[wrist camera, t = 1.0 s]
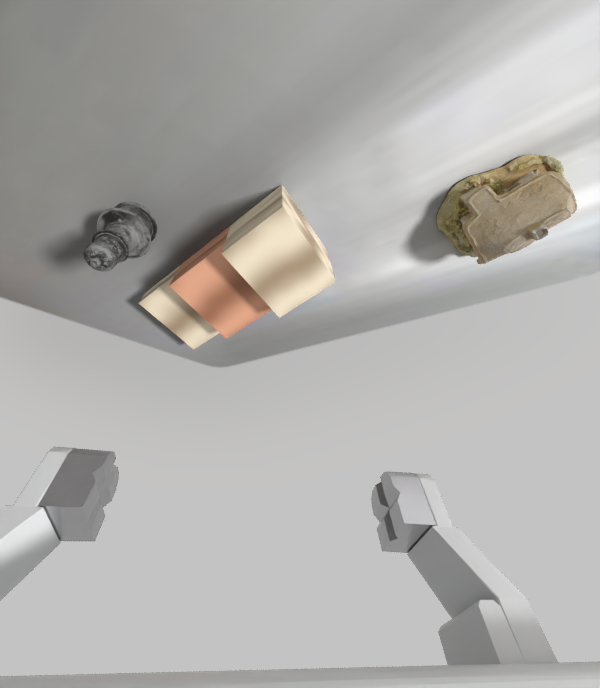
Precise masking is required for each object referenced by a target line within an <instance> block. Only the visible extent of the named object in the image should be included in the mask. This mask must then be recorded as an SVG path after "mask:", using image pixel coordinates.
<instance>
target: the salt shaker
mask: <svg viewBox="0 0 600 688" xmlns="http://www.w3.org/2000/svg"><path fill="white" fill-rule="evenodd" d="M96 226H97V233H96V234H95V235H94V237H93V240H92V243H91V244H90V245H88V246H87V247H86V249H85V251H84V258H85V260H86V262H87V263H88V265H89V266H91V267H92V268H93V269H96V270H98V271H109V270H111V269H113V268H114V267H115V265H116V264H117V263H121V262H123V261H125V260H126V259H127V258H138V257H141V256H143V255H144V254H146V252H147V251H148V250H149V248H150V245H151V242H152V240H153V239H154V238H155V236H156V233H157V226H156V222H155V220H154V218H153V216H152V215H151V213H150V212H149V211H148V210H147V209H145V208H144V207H143V206H141V205H139V204H137V203H133V202H124V203H120V204H119V205H117V206H116V207H115V208H111V209H107V210H106V211H104V212H103V213H101V215H100V216H99V218H98V220H97V224H96Z"/></svg>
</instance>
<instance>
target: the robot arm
mask: <svg viewBox="0 0 600 688" xmlns="http://www.w3.org/2000/svg"><path fill="white" fill-rule="evenodd" d="M115 459H116V457H115V453H114V452H113V451H101V450H88V449H76V448H65V447H53V448H52V449H51V450H50V451H49V452H47V454H46V455H45V457H44V458H43V460H42V462H41V463H40V465H39V466H38V468H37V469H36V471H35V472H34V474H33V476H32V477H31V478H30V480H29V482H28V483H27V485H26V486H25V488H24V489H23V491H22V492H21V494H20V495H19V497H18V499H17V500H16V501H15V503H14V504H13V505H6V506H5V507H3V508H2V509H0V601H1V600H2V599H3V598H4V597H5V596H6V595H7V594H8V593H9V592H10V591H11V590H12V589H13V588H14V587H15V586H16V585H17V584H18V583H19V582H20V581H21V580H23V578H25V576H27V575H28V574H29V573H30V572H31V571H32V570H33V569H34V568H35V567H36V566H37V565H38V564H39V563H40V562H41V561H42V560H43V559H44V558H45V557H46V556H48V555H49V554H50V553H51V552H52V551H53V550H54V549H55V548H56V547H57V546H58V545H59V544H60V541H95V539H96V537H97V535H98V532H99V530H100V527H101V525H102V523H103V520H104V518H105V514H104V510H103V507H104V506H106V505H107V504H108V503H109V502H110V501H112V498H113V496H114V493H115V491H116V487H117V483H118V475H119V472H118V467H116V466H115V465H114V462H115ZM380 478H381V482H380V483H379V484H377V485H375V487H374V489H373V491H372V508H373V513H374V515H375V516H376V517H377V519H378V520H379V521H380V523H379V525H378V528H377V531H378V535H379V540H380V544H381V548H382V551H387V552H404V553H408V554H407V555H408V556H409V558H410V559H411V560H412V562H413V563H414V565H415V566H416V568H417V569H418V571H419V572H420V573H421V575H422V576H423V577H424V579H425V581H426V582H427V583H428V585H429V586H430V588H431V589H432V591H433V592H434V593H435V595H436V596H437V598H438V599H439V600H440V602H441V603H442V605H443V606H444V608H445V609H446V611H447V612H448V613H449V615H450V616H451V617H452V619H451V620H450V621H448V622H447V623H445V624H444V625H442V626H441V627H440V629H439V636H440V639H441V643H442V646H443V650H444V653H445V656H446V660H447V664H448V665H445V666H444V665H442V666H405V667H404V666H403V667H364V668H362V667H361V668H324V669H323V668H321V669H281V670H240V671H203V672H202V671H201V672H200V671H199V672H161V673H160V672H158V673H118V674H80V675H79V674H77V675H39V676H0V688H600V662H569V663H568V662H567V663H566V662H564V663H558V661H557V659H556V657H555V655H554V653H553V651H552V649H551V647H550V645H549V643H548V641H547V639H546V637H545V635H544V633H543V631H542V629H541V627H540V625H539V623H538V620H537V618H536V617H535V614H534V613H533V610H532V609H531V606H530V604H529V602H528V600H527V599H526V598H525V597H524V595H522V593H520V591H518V589H517V588H516V587H515V586H514V585H513V584H512V583H511V582H510V581H509V580H508V579H507V578H506V577H505V576H504V575H503V574H502V573H501V572H500V571H499V570H498V569H497V568H496V567H495V566H494V565H493V563H492V562H491V561H490V560H489V559H488V558H487V557H486V556H485V555H484V554H483V553H482V552H481V551H480V550H479V549H478V548H477V547H476V546H475V545H474V544H473V543H472V542H471V541H470V540H469V539H468V538H467V537H466V536H465V535H464V533H463V532H461V530H460V529H459V528H458V527H453V526H452V523H451V521H450V518H449V516H448V514H447V511H446V509H445V506H444V504H443V501H442V499H441V496H440V494H439V491H438V489H437V487H436V484H435V482H434V479H433V478H432V477H431V476H430V475H428V474H414V473H403V472H384V473H383V474H382V476H381V477H380Z"/></svg>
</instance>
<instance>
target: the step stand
mask: <svg viewBox="0 0 600 688" xmlns="http://www.w3.org/2000/svg"><path fill="white" fill-rule="evenodd" d="M335 282H336V280H335V276H334V273H333V269H332V266H331V263H330V259H329V256H328V253H327V250H326V248H325V247H324V245H323V244H322V243H321V241H320V240H319V238H318V237H317V235H316V234H315V232H314V231H313V229H312V228H311V227H310V225H309V224H308V222H307V221H306V219H305V218H304V216H303V215H302V213H301V212H300V211H299V209H298V208H297V206H296V205H295V203H294V202H293V200H292V199H291V197H290V196H289V194H288V193H287V192H286V190H285V189H284V187H283V186H282V185H281V186H279V187H278V188H277V189H276V190H274V191H273V192H272V193H271V194H269V195H268V196H267V197H266V198H264V199H263V200H262V201H260V202H259V203H258V204H257V205H255V206H254V207H253V208H252V209H250V210H249V211H248V212H247V213H245V214H244V215H243V216H242V217H240V218H239V219H238V220H236V221H235V222H234V223H233V224H231V225H230V226H229V227H228V228H226V229H225V230H224V231H223V232H221V233H220V234H219V235H217V236H216V237H215V238H214V239H212V240H211V241H210V242H209V243H207V244H206V245H205V246H204V247H202V248H201V249H200V250H199V251H197V252H196V253H195V254H193V255H192V256H191V257H190V258H188V259H187V260H186V261H185V262H183V263H182V264H181V265H180V266H178V267H177V268H176V269H175V270H173V271H172V272H171V273H169V274H168V275H167V276H166V277H164V278H163V279H162V280H161V281H159V282H158V283H157V284H156V285H154V286H153V287H152V288H150V289H149V290H148V291H147V292H145V294H144V296H143V297H142V299H141V300H140V302H139V304H140V305H141V306H142V307H143V308H145V309H146V310H147V311H148V312H149V313H151V314H152V315H153V316H154V317H155V318H157V319H158V320H159V321H160V322H161V323H163V324H164V325H165V326H166V327H167V328H169V329H170V330H171V331H172V332H173V333H175V334H176V335H177V336H178V337H179V338H181V339H182V340H183V341H184V342H185V343H187V344H188V345H189V346H190V347H191V348H193V349H196V348H197V347H199V346H200V345H202V344H203V343H205V342H206V341H208V340H209V339H211V338H212V337H214V336H215V335H217V334H218V333H220V334H222V335H223V336H224V337H225V338H226V339H227V338H229V337H230V336H232V335H233V334H235V333H237V332H238V331H240V330H241V329H243V328H244V327H246V326H247V325H249V324H250V323H252V322H253V321H255V320H257V319H258V318H260V317H261V316H263V315H264V314H266V313H267V312H269V311H270V310H273V311H274V312H275V313H276V315H277V316H278V317H279V318H280V317H281V316H283V315H284V314H286V313H288V312H289V311H291V310H292V309H294V308H295V307H297V306H299V305H300V304H302V303H303V302H305V301H307V300H308V299H310V298H311V297H313V296H314V295H316V294H318V293H319V292H321V291H322V290H324V289H325V288H327V287H329V286H330V285H332V284H333V283H335Z"/></svg>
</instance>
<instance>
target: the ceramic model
mask: <svg viewBox="0 0 600 688" xmlns="http://www.w3.org/2000/svg"><path fill="white" fill-rule="evenodd" d="M563 176H564V175H563V166H562V165H561V162H559V161H558V160H556V159H554V158H553V157H551V156H540V155H524V156H521V157H518V158H516V159H514V160H513V161H511V162H510V163H508V164H507V165H505V166H503V167H500V168H496V169H493V170H491V171H488V172H484V173H480V174H477V175H473V176H470V177H467V178H466V179H464V180H462V181H460V182H459V183H457V184H456V185H455V186H454V187H453V188H452V189H451V190H450V191H449V193H448V195H447V197H446V198H445V200H444V202H443V204H442V205H441V207H440V209H439V212H438V214H437V227H438V229H439V230H440V231H442V232H443V233H445V235H446V236H447V237H449V238H450V239H451V240H452V242H453V243H454V246H455V247H456V249H457V250H458V251H459V252H460V253H461V254H464V255H469V256H471V257H478V258H479V259H478V260H477V262H478V264H484V263H487V262H489V261H491V260H493V259H495V258H497V257H500V256H502V255H504V254H508V253H513V252H516V251H518V250H521V249H523V248H525V247H527V246H528V245H530V244H531V243H533V242H534V241H535V240H540V239H542V238H544V237H545V236H547V235H548V229H549V228H551V227H553V226H555V225H557V224H558V223H560V222H562V221H564V220H565V219H567V218H569V217H571V214H573V213H574V212H575V211H576V210H577V204H576V200H575V197H574V194H573V191H572V189H571V188H570V185H569V183H568V182H567V181H566V179H565V178H564V177H563Z"/></svg>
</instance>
